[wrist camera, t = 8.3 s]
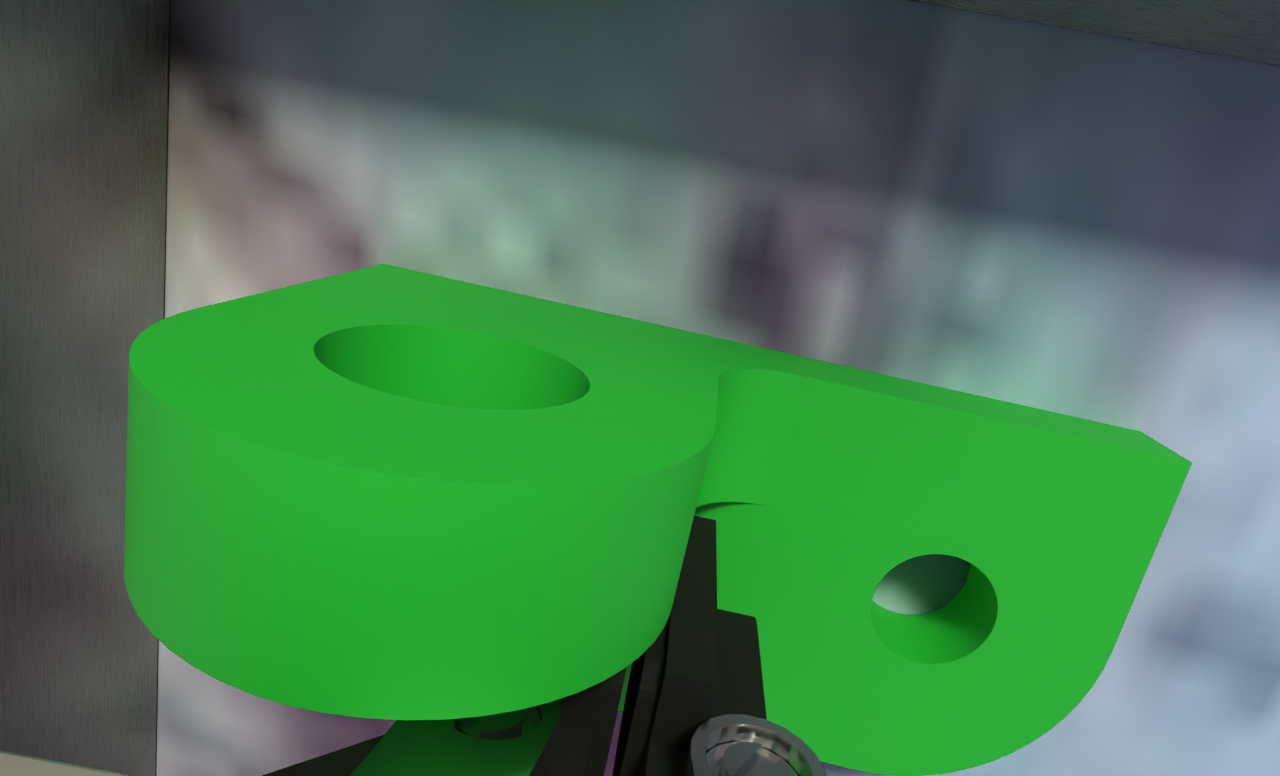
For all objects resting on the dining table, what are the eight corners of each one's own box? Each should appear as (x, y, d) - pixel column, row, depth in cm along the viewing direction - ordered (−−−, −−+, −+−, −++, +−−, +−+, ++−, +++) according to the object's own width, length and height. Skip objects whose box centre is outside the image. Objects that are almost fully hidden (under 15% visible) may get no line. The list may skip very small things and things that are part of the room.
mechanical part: (363, 574, 15) (-36, 1001, 7) (400, 260, 13) (-65, 370, 5) (999, 730, 14) (1321, 1385, 6) (1121, 420, 13) (1742, 798, 5)
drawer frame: (1741, 40, 10) (2789, -103, 5) (1168, 1121, 15) (1383, 1583, 10) (-66, -270, 11) (-706, -632, 6) (-8, 822, 17) (-326, 1100, 12)
